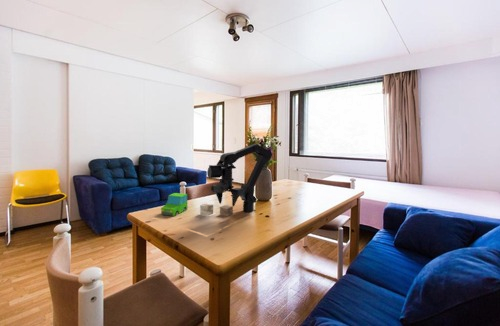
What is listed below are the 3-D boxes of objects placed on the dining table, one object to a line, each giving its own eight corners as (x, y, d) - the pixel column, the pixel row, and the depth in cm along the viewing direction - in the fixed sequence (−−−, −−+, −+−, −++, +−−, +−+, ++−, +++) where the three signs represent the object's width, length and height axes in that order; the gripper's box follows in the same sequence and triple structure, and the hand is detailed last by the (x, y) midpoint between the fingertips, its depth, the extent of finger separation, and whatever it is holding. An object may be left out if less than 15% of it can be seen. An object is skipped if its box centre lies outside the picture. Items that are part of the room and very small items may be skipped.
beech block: (206, 211, 134) (206, 203, 133) (213, 213, 131) (213, 204, 130) (200, 214, 129) (200, 205, 129) (206, 215, 127) (206, 206, 126)
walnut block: (225, 213, 134) (225, 204, 133) (232, 215, 131) (232, 206, 130) (219, 215, 130) (220, 207, 129) (227, 217, 127) (227, 208, 126)
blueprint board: (207, 209, 139) (207, 208, 139) (220, 213, 134) (220, 211, 134) (189, 216, 128) (189, 214, 128) (202, 220, 122) (202, 218, 122)
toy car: (158, 216, 127) (158, 198, 126) (173, 209, 139) (173, 192, 138) (175, 218, 124) (174, 200, 123) (189, 211, 136) (188, 194, 135)
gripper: (203, 177, 126) (203, 205, 128) (231, 181, 116) (231, 211, 118) (217, 174, 136) (217, 200, 137) (244, 178, 125) (243, 206, 127)
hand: (226, 204), depth 130 cm, fingers open, 9 cm apart
